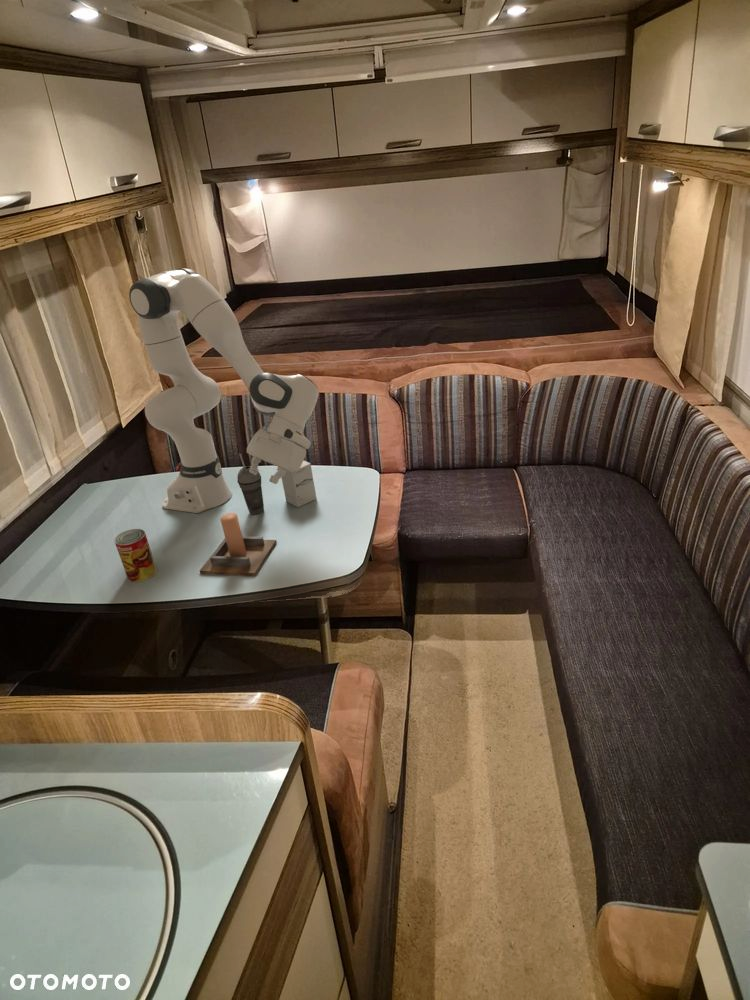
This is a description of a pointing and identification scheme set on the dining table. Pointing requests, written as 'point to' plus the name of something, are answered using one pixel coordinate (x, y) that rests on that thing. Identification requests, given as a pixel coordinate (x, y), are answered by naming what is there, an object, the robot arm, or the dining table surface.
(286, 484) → the supplement box
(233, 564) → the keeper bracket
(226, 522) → the terracotta post
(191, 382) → the robot arm
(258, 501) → the beverage cup
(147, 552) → the canned food
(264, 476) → the dining table surface
